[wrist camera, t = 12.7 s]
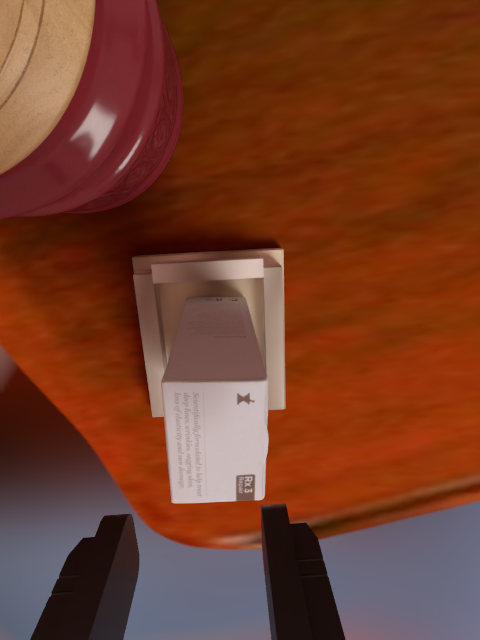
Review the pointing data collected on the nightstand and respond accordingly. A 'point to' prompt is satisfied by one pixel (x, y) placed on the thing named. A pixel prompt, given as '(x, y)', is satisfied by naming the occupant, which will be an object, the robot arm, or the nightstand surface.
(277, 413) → the nightstand surface
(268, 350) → the white shallow tray
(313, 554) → the robot arm
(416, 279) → the nightstand surface
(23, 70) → the canister
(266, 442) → the skincare box
